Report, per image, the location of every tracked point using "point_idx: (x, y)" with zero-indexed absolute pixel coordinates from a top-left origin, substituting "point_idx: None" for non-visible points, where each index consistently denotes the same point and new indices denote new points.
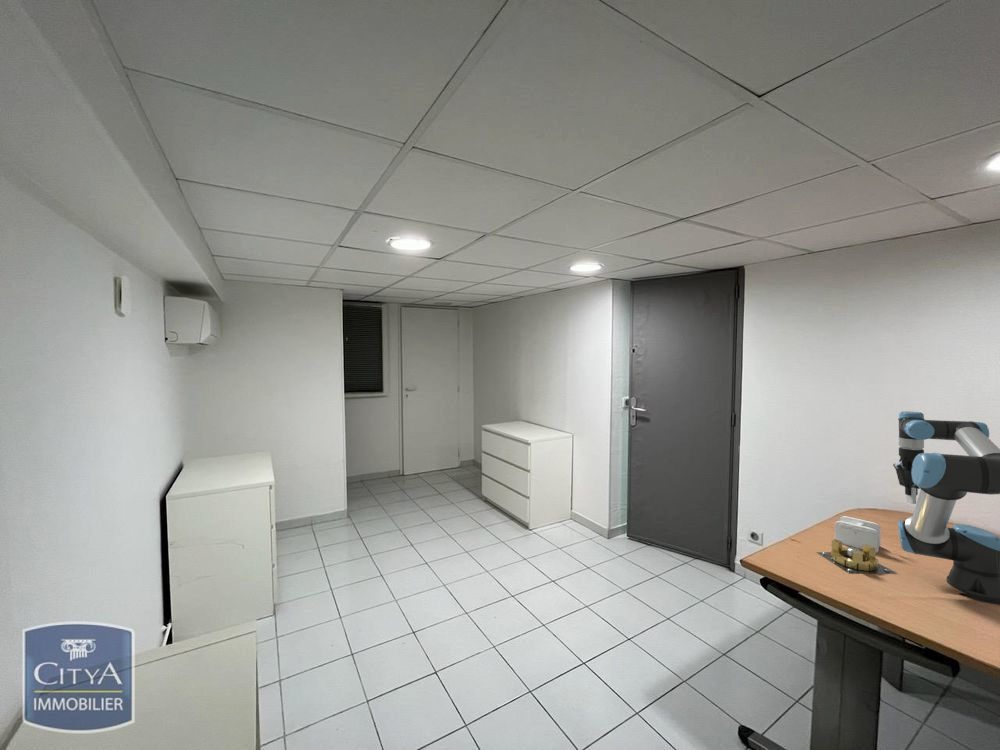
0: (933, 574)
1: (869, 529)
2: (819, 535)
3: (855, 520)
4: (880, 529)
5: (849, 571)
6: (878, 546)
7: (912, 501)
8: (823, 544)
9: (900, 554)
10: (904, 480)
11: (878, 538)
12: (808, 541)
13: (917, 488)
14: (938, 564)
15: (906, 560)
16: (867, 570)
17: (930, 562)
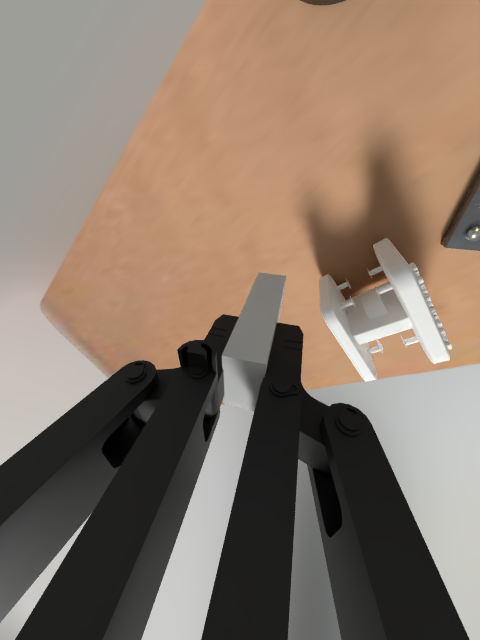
0: (346, 78)
1: (419, 285)
2: (393, 358)
3: (362, 353)
4: (321, 302)
5: None
6: (377, 248)
7: (283, 285)
8: (455, 319)
9: (297, 238)
10: (407, 547)
11: (384, 259)
12: (477, 340)
13: (210, 352)
14: (252, 166)
15: (321, 199)
16: None
17: (263, 182)
